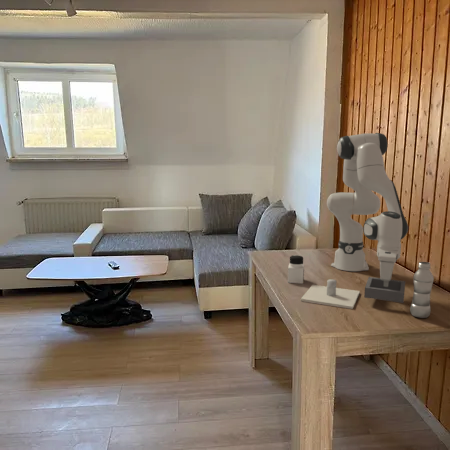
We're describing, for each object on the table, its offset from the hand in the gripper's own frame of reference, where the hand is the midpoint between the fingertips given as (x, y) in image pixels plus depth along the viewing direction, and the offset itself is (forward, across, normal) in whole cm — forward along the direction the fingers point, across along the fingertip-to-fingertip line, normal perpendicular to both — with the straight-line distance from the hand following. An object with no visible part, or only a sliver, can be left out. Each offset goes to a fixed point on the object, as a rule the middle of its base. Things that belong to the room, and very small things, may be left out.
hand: (386, 285), depth 167 cm
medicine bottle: (+6, -6, -39) cm, 40 cm away
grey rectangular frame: (+2, +6, 0) cm, 6 cm away
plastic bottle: (+5, +17, +13) cm, 22 cm away
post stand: (+5, +10, -20) cm, 23 cm away
